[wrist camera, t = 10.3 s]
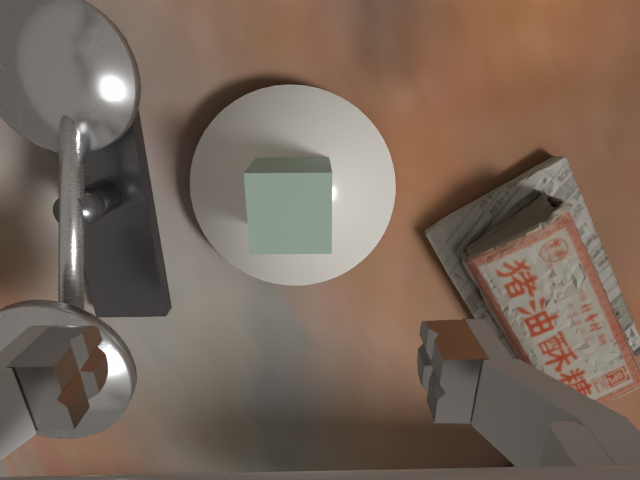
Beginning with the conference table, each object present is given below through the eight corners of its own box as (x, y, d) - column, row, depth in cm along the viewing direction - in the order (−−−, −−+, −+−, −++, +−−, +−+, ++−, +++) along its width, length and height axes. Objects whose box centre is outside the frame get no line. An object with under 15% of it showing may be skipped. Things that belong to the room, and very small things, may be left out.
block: (255, 157, 24) (243, 173, 20) (329, 157, 24) (332, 172, 20) (260, 227, 26) (249, 254, 22) (329, 226, 26) (331, 253, 22)
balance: (4, 1, 22) (-214, -57, 13) (146, 0, 23) (29, -59, 13) (90, 331, 31) (-9, 440, 21) (194, 329, 31) (142, 437, 21)
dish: (183, 85, 24) (176, 85, 23) (397, 83, 24) (402, 83, 23) (207, 277, 29) (202, 286, 28) (386, 274, 29) (389, 284, 28)
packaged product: (685, 381, 28) (548, 440, 30) (633, 339, 32) (517, 393, 34) (600, 164, 22) (438, 255, 24) (552, 149, 26) (419, 227, 28)
